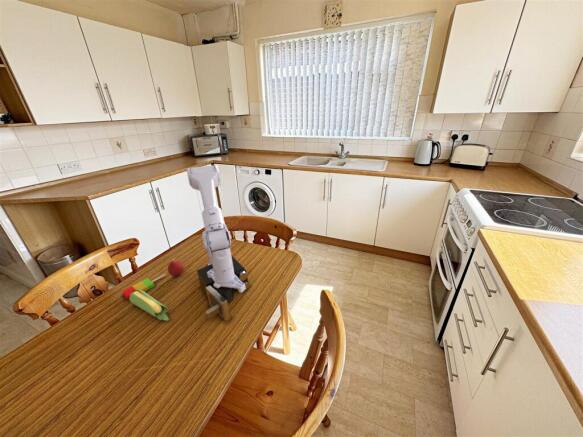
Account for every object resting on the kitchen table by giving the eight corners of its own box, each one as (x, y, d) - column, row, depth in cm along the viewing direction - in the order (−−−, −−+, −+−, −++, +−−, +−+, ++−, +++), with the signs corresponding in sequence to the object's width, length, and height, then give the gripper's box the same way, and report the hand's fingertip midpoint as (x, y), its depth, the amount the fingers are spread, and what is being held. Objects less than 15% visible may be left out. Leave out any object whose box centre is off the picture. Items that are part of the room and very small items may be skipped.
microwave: (249, 288, 88) (247, 270, 85) (213, 306, 80) (209, 288, 77) (235, 272, 97) (232, 255, 94) (201, 287, 89) (196, 270, 86)
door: (214, 329, 72) (209, 311, 69) (198, 312, 78) (193, 294, 75) (230, 318, 76) (226, 299, 72) (213, 302, 82) (209, 285, 79)
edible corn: (142, 294, 87) (138, 284, 85) (176, 315, 77) (172, 305, 76) (127, 303, 83) (123, 293, 81) (161, 327, 73) (157, 316, 72)
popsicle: (122, 295, 87) (120, 291, 86) (162, 273, 98) (161, 270, 97) (129, 301, 84) (127, 297, 83) (169, 278, 95) (168, 274, 94)
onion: (179, 281, 93) (175, 264, 90) (167, 279, 94) (161, 263, 91) (188, 272, 98) (184, 255, 95) (176, 270, 99) (171, 254, 96)
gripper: (196, 265, 72) (204, 300, 77) (230, 281, 64) (237, 318, 70) (214, 254, 77) (221, 287, 83) (248, 268, 70) (252, 302, 76)
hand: (229, 300), depth 77 cm, fingers closed
